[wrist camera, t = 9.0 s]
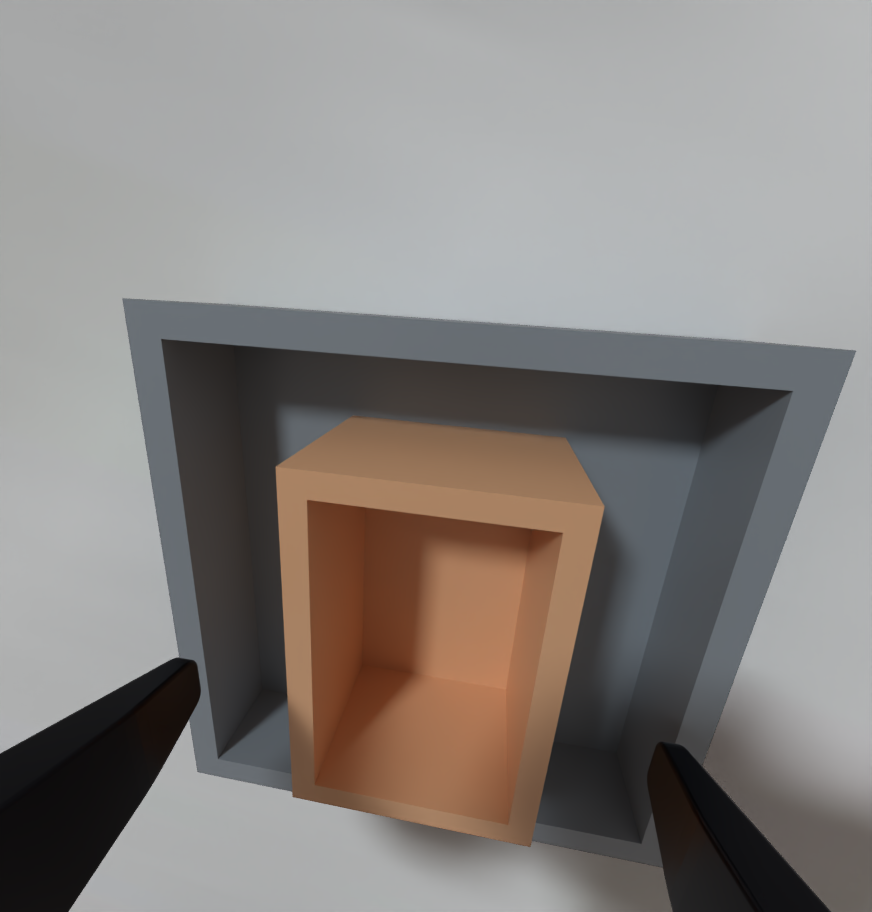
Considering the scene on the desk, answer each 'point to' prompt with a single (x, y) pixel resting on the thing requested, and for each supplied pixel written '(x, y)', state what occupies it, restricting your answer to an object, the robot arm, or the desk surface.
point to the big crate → (504, 409)
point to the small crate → (431, 617)
